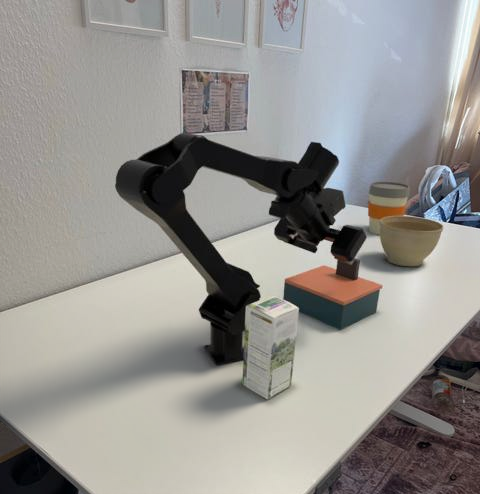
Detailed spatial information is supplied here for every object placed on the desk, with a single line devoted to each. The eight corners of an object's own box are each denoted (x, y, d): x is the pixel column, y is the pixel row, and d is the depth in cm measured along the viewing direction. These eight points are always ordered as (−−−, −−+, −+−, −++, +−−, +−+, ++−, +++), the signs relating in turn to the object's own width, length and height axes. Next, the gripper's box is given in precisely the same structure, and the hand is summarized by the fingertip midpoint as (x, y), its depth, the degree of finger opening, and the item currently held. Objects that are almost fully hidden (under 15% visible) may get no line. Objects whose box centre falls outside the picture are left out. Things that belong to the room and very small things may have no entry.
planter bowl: (448, 267, 128) (457, 228, 123) (399, 274, 123) (406, 233, 118) (408, 249, 142) (415, 213, 137) (362, 255, 136) (368, 217, 131)
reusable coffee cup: (407, 230, 160) (415, 184, 154) (396, 239, 151) (404, 191, 144) (370, 224, 166) (376, 180, 160) (358, 232, 157) (364, 185, 150)
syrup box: (265, 372, 80) (270, 293, 74) (292, 387, 77) (299, 305, 70) (241, 385, 77) (243, 303, 70) (268, 401, 73) (273, 316, 67)
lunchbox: (319, 290, 113) (321, 269, 110) (376, 312, 102) (380, 289, 100) (282, 304, 105) (284, 282, 103) (340, 330, 95) (343, 306, 92)
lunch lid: (323, 268, 111) (325, 246, 108) (382, 288, 101) (386, 265, 98) (284, 282, 103) (285, 259, 100) (343, 305, 92) (347, 280, 90)
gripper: (368, 183, 81) (393, 235, 93) (287, 168, 93) (318, 215, 105) (334, 237, 80) (364, 282, 92) (256, 215, 92) (291, 257, 104)
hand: (333, 256), depth 98 cm, fingers open, 9 cm apart
